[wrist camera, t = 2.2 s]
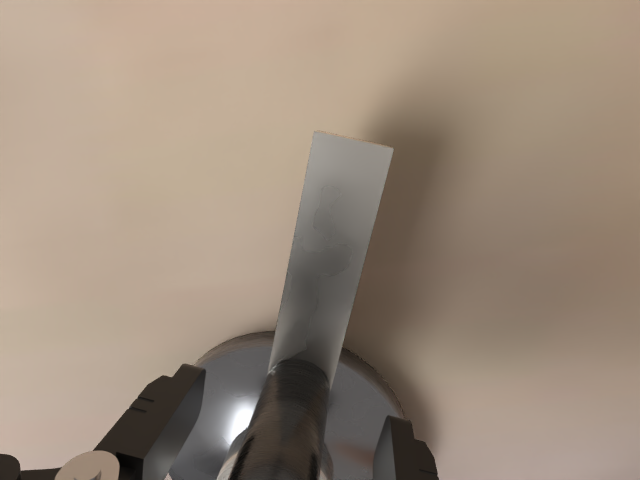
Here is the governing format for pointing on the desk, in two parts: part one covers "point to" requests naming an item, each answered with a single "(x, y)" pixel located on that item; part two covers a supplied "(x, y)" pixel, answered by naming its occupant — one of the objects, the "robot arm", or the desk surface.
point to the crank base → (243, 393)
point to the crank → (313, 313)
